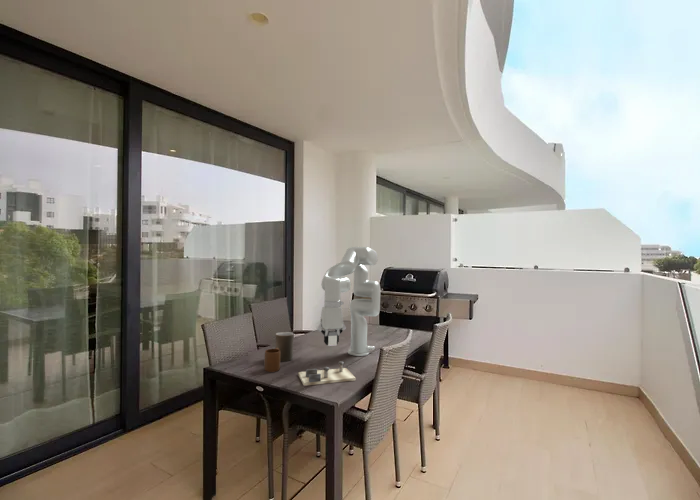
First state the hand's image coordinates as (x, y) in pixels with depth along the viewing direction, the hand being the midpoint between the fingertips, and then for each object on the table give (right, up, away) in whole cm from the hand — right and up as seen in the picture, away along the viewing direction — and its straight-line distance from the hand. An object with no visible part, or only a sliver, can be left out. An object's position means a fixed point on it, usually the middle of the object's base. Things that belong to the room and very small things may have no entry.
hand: (331, 343), depth 159 cm
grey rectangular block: (0, 0, 0) cm, 0 cm away
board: (-2, -16, +1) cm, 16 cm away
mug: (-29, -16, +12) cm, 35 cm away
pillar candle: (-27, -16, +27) cm, 42 cm away
